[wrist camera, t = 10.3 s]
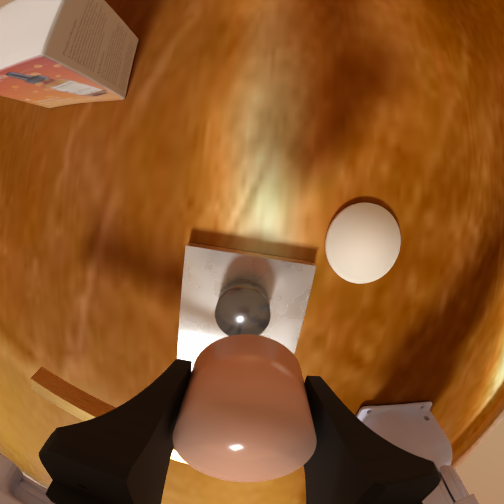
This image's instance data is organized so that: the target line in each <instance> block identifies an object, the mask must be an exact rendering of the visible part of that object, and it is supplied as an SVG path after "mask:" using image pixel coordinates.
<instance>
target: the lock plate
mask: <svg viewBox="0 0 504 504" xmlns="http://www.w3.org/2000/svg"><path fill="white" fill-rule="evenodd" d="M315 269H316V265H315V263H314V262H310V261H304V260H298V259H291V258H285V257H279V256H272V255H266V254H260V253H253V252H247V251H241V250H234V249H228V248H222V247H215V246H209V245H203V244H196V243H190V242H189V243H188V244H187V245H186V248H185V258H184V268H183V279H182V291H181V303H180V318H179V334H178V354H177V359H183V360H189V361H192V368H193V365H194V362H195V360H196V358H197V356H198V355H199V353H200V352H201V351H202V350H203V349H204V348H205V347H206V346H208V345H209V344H211V343H212V342H214V341H216V340H219V339H221V338H224V337H228V336H232V335H239V334H251V335H259V336H264V337H267V338H270V339H273V340H275V341H277V342H279V343H281V344H282V345H284V346H285V347H287V348H288V349H289V350H290V351H291V352H292V353H293V354H294V353H295V349H296V345H297V342H298V338H299V334H300V331H301V327H302V323H303V319H304V315H305V311H306V307H307V303H308V299H309V295H310V291H311V287H312V282H313V278H314V274H315ZM191 371H192V369H191Z"/></svg>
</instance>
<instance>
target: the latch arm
mask: <svg viewBox="0 0 504 504" xmlns="http://www.w3.org/2000/svg"><path fill="white" fill-rule="evenodd" d="M31 386H32V390H34V391H35V392H36V393H38V394H39V395H41V396H43V397H44V398H46V399H47V400H49V401H50V402H52V403H53V404H55V405H57V406H58V407H60V408H62V409H63V410H65V411H67V412H69V413H70V414H72V415H74V416H76V417H77V418H79V419H81V420H83V421H87V420H90V419H93V418H95V417H98V416H101V415H103V414H105V413H107V412H109V411H111V410H113V409H115V407H113V406H111V405H109V404H107V403H105V402H103V401H101V400H99V399H97V398H95V397H93V396H91V395H89V394H87V393H86V392H84V391H82V390H80V389H78V388H77V387H75V386H73V385H71V384H69V383H68V382H66V381H64V380H63V379H61V378H59V377H58V376H56V375H54V374H53V373H51V372H50V371H48V370H46V369H45V368H43V367H41V368H40V369H39V370H38V371H37V372H36V373H35V374H34V375H33V376H32V377H31ZM171 459H174V460H177V461H180V462H183V463H186V462H185V461H184V460H183V459H182V458H181V457H180V456H179V455H178V453H177V451H176V450H175V447H174V449H173V452H172V455H171ZM186 464H187V463H186Z"/></svg>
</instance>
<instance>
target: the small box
mask: <svg viewBox="0 0 504 504" xmlns="http://www.w3.org/2000/svg"><path fill="white" fill-rule="evenodd" d="M137 44H138V38H137V37H136V35H135V34H134V33H133V32H132V31H131V30H130V28H129V27H128V26H127V25H126V24H125V23H124V21H123V20H122V19H121V18H120V17H119V16H118V15H117V13H116V12H115V11H114V10H113V9H112V8H111V7H110V6H109V5H108V3H107V2H106V1H105V0H14V1H12V2H10V3H9V4H7V5H5V6H3V7H1V8H0V96H4V97H8V98H12V99H17V100H20V101H24V102H28V103H32V104H36V105H40V106H43V107H47V108H52V107H57V106H62V105H69V104H76V103H86V102H97V101H110V100H123V99H125V96H126V90H127V86H128V81H129V77H130V72H131V68H132V64H133V59H134V55H135V51H136V48H137Z"/></svg>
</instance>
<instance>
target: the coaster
mask: <svg viewBox="0 0 504 504" xmlns="http://www.w3.org/2000/svg"><path fill="white" fill-rule="evenodd" d="M400 243H401V237H400V230H399V227H398V224H397V222H396V220H395V219H394V217H393V216H392V215H391V213H390V212H388V211H387V210H386V209H385V208H383V207H381V206H379V205H376V204H373V203H367V202H362V203H356V204H352V205H350V206H348V207H346V208H345V209H343V210H342V211H341V212H339V213H338V214H337V215H336V216H335V218H334V219H333V220H332V222H331V224H330V226H329V228H328V230H327V234H326V239H325V252H326V256H327V259H328V262H329V264H330V266H331V267H332V268H333V270H334V271H335V272H336V273H337V274H338V275H339V276H340V277H341V278H343V279H345V280H347V281H349V282H352V283H360V284H361V283H369V282H372V281H375V280H377V279H379V278H380V277H382V276H383V275H385V274H386V273H387V272H388V271H389V270H390V269H391V267H392V266H393V264H394V263H395V261H396V259H397V257H398V254H399V250H400Z"/></svg>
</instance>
